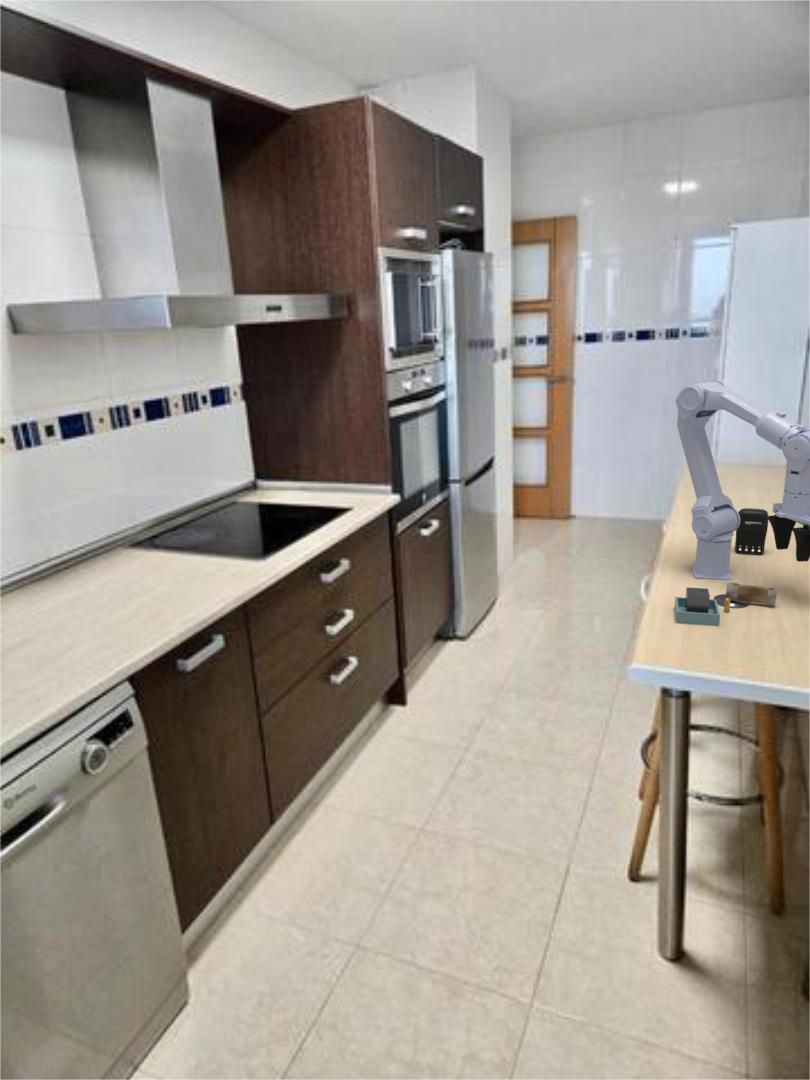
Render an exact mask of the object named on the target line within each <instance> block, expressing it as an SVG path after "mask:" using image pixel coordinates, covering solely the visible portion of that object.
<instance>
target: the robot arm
mask: <svg viewBox="0 0 810 1080" xmlns="http://www.w3.org/2000/svg"><path fill="white" fill-rule="evenodd" d="M675 403H676V408H677V422H676V425H677V430H678V434H679V438H680V442H681V446H682V449H683V454H684V457H685V459H686V463H687V467H688V471H689V475H690V479H691V482H692V486H693V489H694V494H695V497H696V500H695V502H694V504H693V506H692V507H691V515H692V519H691V520H692V521H691V528H692V531H693V533H694V534H695V536H696V538H695V539H696V552H695V554H696V555H695V562H692V563H691V569H692V574H693V578H694V579H706V580H708V579H709V580H724V581H732V580H733V576H732V574H731V571H730V559H731V553H732V551H731V550H732V541H733V540H732V539H733V537H734V532H736V530H737V528H738V527H739V525H740V515H739V513H738V512H739V511H737V509H736V508H735V506H734V504H733V501H732V499H731V498H730V497H729V496H727V495H725V494H724V493H723V490H722V486H721V483H720V479H719V475H718V472H717V468H716V464H715V461H714V457H713V454H712V449H711V446H710V442H709V439H708V435H707V431H706V428H705V427H706V426H707V424H708V422H709V421H710V419H711V418H712V417H713V416H714V415H715V414H716V413H717V412H718V411H725V412H727V413H729V414H732V415H733V416H735V417H737V418H739V419H741V420H742V421H744V422H745V423H749V424H750V425H752V426H753V427H755V433H756V435H757V436H759V437H760V438H762V439H764V440H765V441H766V442H768V443H769V444H771V445H772V446H775V447H776V448H778V449H779V450H781V451H782V454H783V456H784V459H786V465H785V466H786V468H785V469H786V471H785V479H784V486H783V487H784V488H783V496H782V502H778V503H776V502H775V503H773V506H772V513H773V514H774V515H768V522H769V524H770V525H771V528H772V531H773V532H772V533H773V537H774V543H775V549H776V550H779V551H780V550H788V548H789V546H790V542H791V538H792V533H793V535H794V538H795V539H794V540H795V560H796V561H797V562H809V560H810V429H807V426H806V425H804V424H802V423H801V424H799V423H797V422H796V421H793V420H792V419H790V418H788V417H787V413H786V412H784V411H783V410H781V411H776V410H772V411H769V412H767V411H766V410H763V409H762V408H760V407H759V406H757V405H755V404H754V403H753V402H751V401H750V400H749V399H747V398H746V397H744V396H742V395H741V394H739V393H738V392H736V391H735V389H733V387H732V386H731V385H728V384H725V383H724V382H723V381H721V380H711V381H707V382H706V381H705V382H701V383H689V384H686V385H684V387H682V388H681V390H680V392H679V393H678V395H677V396H676V398H675ZM797 523H798V524H800V525H802V527H800V526H799V527H795V526H796V524H797Z"/></svg>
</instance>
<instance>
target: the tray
mask: <svg viewBox="0 0 810 1080" xmlns="http://www.w3.org/2000/svg"><path fill="white" fill-rule="evenodd" d="M713 599H714V598H713ZM713 599H712V598H711V599H709V610H708V613H696V612H685V601H686V597H682V596H681V597H680V596H675V597H674V614H675V615H674V616H675V623H676V624H684V625H685V624H686V625H698V626H699V625H701V626H713V627H714V626H717V627H719V626H720V619H721V614H720V609H719V605H717V601H716V600H713Z"/></svg>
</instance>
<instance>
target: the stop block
mask: <svg viewBox="0 0 810 1080" xmlns="http://www.w3.org/2000/svg"><path fill="white" fill-rule="evenodd" d="M685 589H686V590H685V598H686V601H685V612H696V613H708V610H709V599H710V598H711V595H710V590H709V588H703V587H702V588H701V587H686V588H685Z"/></svg>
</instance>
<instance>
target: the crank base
mask: <svg viewBox="0 0 810 1080" xmlns="http://www.w3.org/2000/svg"><path fill="white" fill-rule="evenodd" d="M713 600H716V601H717V604H718V606H720V607H723V612H724V613H727V614H728V613H730V609H744V608H748V607H749V606H750V605H751V602H745V601H730V600H731V599H730V598H726V593H723V594H722V593H721V594H718V595H714V597H713Z"/></svg>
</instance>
